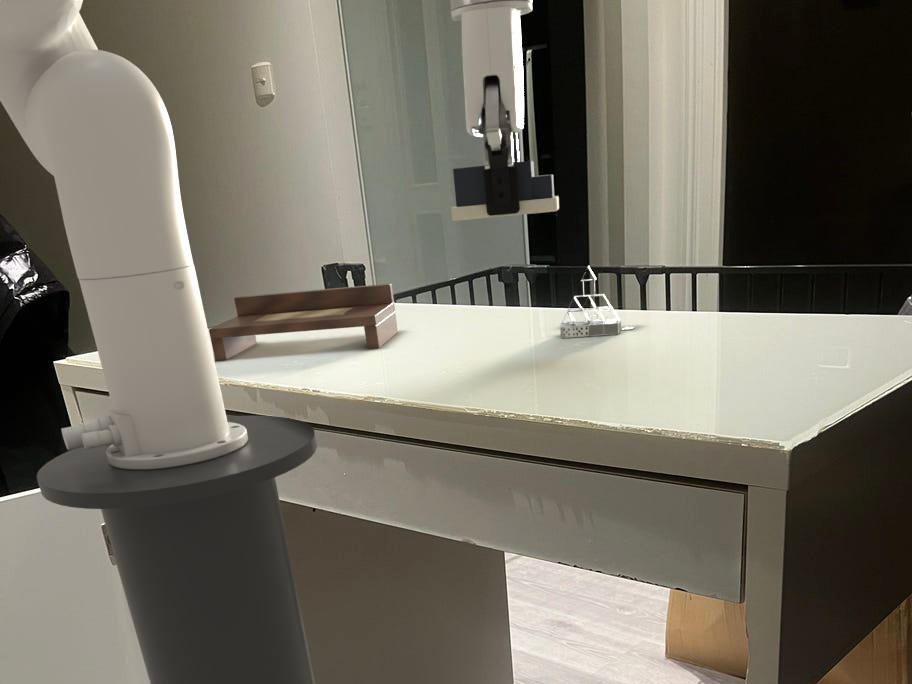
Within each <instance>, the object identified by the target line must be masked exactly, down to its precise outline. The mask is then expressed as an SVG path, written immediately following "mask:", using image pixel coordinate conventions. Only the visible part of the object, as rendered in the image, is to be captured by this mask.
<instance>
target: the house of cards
mask: <svg viewBox="0 0 912 684" xmlns="http://www.w3.org/2000/svg"><path fill="white" fill-rule="evenodd" d="M587 269H588V270H589V272H590V274H591V275H592V277H593V278H588V279H584V276H585V275H586V273H584V274H583V277H582V278H581V280H580V282H582V294H581V295H574V296H573V299H572V300H571V301H570V304H569V306H568V308H567V310H566V314H567V315H568V317H569V318H570V320H571V321H564V320H565V319H566V316H567V315H565V316H564V317H563V320H562V322H560V324H559V328H560V337H561V339H567V338H568V339H569V338H581V337H596V336H611V335H619V334H620V333H621V332H622V331H625V330H633V329H634V328H635V326H625V327H623V328H622V320H621V318H620V317H619V315H618V313H617V312H616V310H615V309H614V307H613V306H612V305H611V304H610V302H609V300H608V299H607V296H606V295H605V293H598V294H597V293H596V281H597V277H596V275H595V274H594V272H593V271H592V269H591V267H590V265H588V266H587ZM589 281H593V288H594V289H593V290H594V291H593V292H594V293H595V294H585V282H589ZM582 297H583V298H584V297H585V298H586V297H587V298H586V300H585V303H584V304H586V303H587V300H588V299H589V300H590V305H592V307H589V308H588V307H587V308H584V307H583V306H581V304H580V302H579V300H578V299H577V298H582ZM592 297H603V298H604V299H605V301H606V303H607V306H597V305H596V303H595V302H594V301H593V299H592ZM573 300H574V301H575V302H576V304H577V305H578V307H577V308H570V307H571V305H572V304H571V303H573ZM590 310H591V311H593V310H594V313H593V314H587V311H590ZM606 310H607V311H611V312H612V313H613V314H614V316H615V318H607V317H605V316H604V315H603V313H602V312H601V311H606ZM578 312H579V313H581V314H583V316H584V320H579V321H578V320H577V319H575V317H574V316H573V314H572V313H578ZM595 316H596V317H598V316H599V317H600V319H598V318H596V319H590V317H595Z"/></svg>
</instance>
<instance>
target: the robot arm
mask: <svg viewBox="0 0 912 684" xmlns="http://www.w3.org/2000/svg"><path fill="white" fill-rule="evenodd" d="M83 1H84V0H0V103H1V105H2V106H3V108H4V110H5V111H6V113H7V114H8V116H9V118H10V120H11V121H12V123H13V124H14V127H15V128H16V129H17V131H18V133H19V134H20V136H21V138H22V139H23V141H24V143H25V144H26V146H27V147H28V148H29V150H30V152H31V154H32V155H33V156H34V158H35V159H36V160H37V162H39V164H40V165H41V166H42V167H43V168H44V169H45V170H46V171H47V172H48V173H49V174H50V175H52V176H53V177H54V182H55V187H56V191H57V196H58V201H59V207H60V210H61V211H60V212H61V215H62V221H63V225H64V229H65V234H66V237H67V241H68V246H69V249H70V254H71V258H72V262H73V265H74V269H75V273H76V276H77V279H78V281H79V284H80V289H81V293H82V296H83V301H84V304H85V308H86V312H87V315H88V321H89V323H90V327H91V331H92V334H93V338H94V342H95V347H96V350H97V353H98V358H99V361H100V364H101V368H102V373H103V377H104V380H105V384H106V388H107V391H108V395H109V399H110V402H111V406H110V407H106V408H105V409H104V410H105V414H106V416H101V417H97V418H96V419H97V420H96V421H97V422H94V423H89V424H84V425H83V424H78V425H73V426H67V427H62V428H60V430H61V435H62V438H63V441H64V444H65V447H66V449H67V451H70V450H73V449H76V448H81V447H85V449H91V448H96V447H100V446H102V445H105V446H108V445H111V446H110V447H109V448H108V449H107V451H106V455H107V458H108V462H109V464H111V465H112V466H114V467H117V468H120V469H127V470H154V469H165V468H173V467H179V466H185V465H191V464H195V463H200V462H204V461H208V460H211V459H215V458H218V457H221V456H224V455H227V454H229V453H231V452H234V451H236V450H238V449H239V448H241V447H243V446H244V445H245V444H246V443H247V441H248V435H247V429H246V428H245V427H244V426H242V425H240V424H237V423H232V422H227V417H228V416H227V413H226V407H225V403H224V398H223V393H222V390H221V389H222V388H221V385H220V379H219V376H218V371H217V366H216V361H215V357H214V352H213V348H212V343H211V338H210V333H209V328H208V324H207V319H206V313H205V310H204V304H203V301H202V295H201V291H200V286H199V281H198V276H197V272H196V268H195V264H194V260H193V255H192V251H191V245H190V241H189V235H188V231H187V226H186V220H185V216H184V210H183V204H182V196H181V189H180V179H179V169H178V161H177V153H176V144H175V138H174V132H173V127H172V124H171V123H172V122H171V119H170V116H169V113H168V111H167V110H168V109H167V107H166V105H165V103H164V101H163V98H162V96H161V94H160V92H159V91H158V89H157V88H156V87H155V85H154V83H153V82H152V81H151V80H150V78H149V77H148V76H147V75H146V74H145V72H143V71H142V70H141V69H140V68H139V67H138V66H137V65H135V64H134V63H132V62H131V61H130V60H128V59H126V58H125V57H123V56H120V55H119V54H116V53H113V52H110V51H106V50H101V49H98V47H97V45H96V43H95V41H94V38H93V37H92V35H91V33H90V30H89V29H88V28H87V25H86V24H85V22H84V19H83V18H82V15H81V13H80V11H81V9H82V6H83ZM449 3H450V15H451V21H454V22H461V59H462V60H461V61H462V76H463V91H464V93H463V94H464V110H465V111H464V112H465V129H466V132H467V133H468V134H469V135H470V136H472V137H476V138H482V145H483V146H482V149H483V166H485V171H484V184H485V196H486V209H487V214H488V215H490V216H493V215H504V214H514V213H518V212H519V210H520V205H519V190H518V175H517V167H515V168H514V163H516V162H520V151H519V139H518V134H519V133H520V132H521V131H522V130H523V129H524V125H525V122H524V121H525V119H524V118H525V96H524V95H525V94H524V93H525V91H524V90H525V89H524V88H525V87H524V65H523V64H524V63H523V61H524V60H523V47H522V44H523V43H522V27H521V26H522V25H521V16H523V15H527V14H529V13H530V12H533V0H449Z"/></svg>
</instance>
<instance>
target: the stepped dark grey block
mask: <svg viewBox="0 0 912 684" xmlns="http://www.w3.org/2000/svg"><path fill="white" fill-rule="evenodd" d="M515 167H517V175H518V190H519V205H520V210H519V212H518V213H514V214H504V215H493V216H490V215H488V214H487V209H486V196H485V184H484V171H485V166H484V165H478V166H476V165H475V166H467V167H457V168H453V169H452V171H453V172H452V174H453V183H454V184H453V185H454V193H455V206H452V207H451V209H450V210H451V220H452V222H455V221H466V220H467V221H468V220H476V219H477V220H478V219H484V218H485V219H488V218H499V217H508V216H521V215H529V214H530V215H531V214H541V213H542V214H543V213H551V212H557V211H558V210H560V197H559V195H555V186H554V185H555V181H554V174H543V175H535V163H534V160H526V161H519V162H516V163H514V168H515Z"/></svg>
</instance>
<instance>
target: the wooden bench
mask: <svg viewBox="0 0 912 684" xmlns="http://www.w3.org/2000/svg"><path fill="white" fill-rule="evenodd" d="M233 299H234V305H235V310H236V314H237V315H236V316H235V317H233V318H231V319H228V320H226V321H224V322H221V323H219V324H217V325H214V326H213V327H211V328H208V333H209V337H210V342H211V347H212V351H213V356H214V361H215V362H219V361H227V360H229V359H231V358H233V357H235V356H237V355H238V354H240V353H242V352H243V351H246V350H247V349H249V348H251V347H253V346H255V345H257V343H258V342H257V337H256V336H261V335H274V334H284V333H285V334H286V333H297V332H299V333H301V332H311V331H322V330H323V331H324V330H335V329H338V330H339V329H350V328H360V327H361V328H362V327H363V331H364V335H365V336H364V337H365V345H366V349H367V350H377V349H380V348H381V347H382V346H383V345H384V344H386V343H387V342H388V341H390V340H391V339H392V338H393V337H395V335H396V334H397V333H399V331H398V323H397V322H398V321H397V315H396V306H395V299H394V292H393V283H381V284H370V285H357V286H356V285H355V286H344V287H335V288H322V289H321V288H320V289H312V290H299V291H288V292H278V293H276V292H275V293H265V294H264V293H263V294H252V295H242V296H241V295H240V296H235V297H234V298H233Z"/></svg>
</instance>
